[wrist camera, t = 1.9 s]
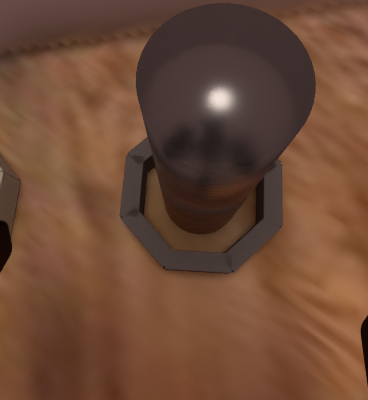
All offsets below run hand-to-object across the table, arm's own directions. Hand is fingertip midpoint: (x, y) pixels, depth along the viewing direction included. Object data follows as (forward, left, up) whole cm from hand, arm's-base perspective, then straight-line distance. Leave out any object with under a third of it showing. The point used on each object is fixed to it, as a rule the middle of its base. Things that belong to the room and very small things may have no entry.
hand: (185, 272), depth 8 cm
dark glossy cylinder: (+4, +3, -11) cm, 13 cm away
